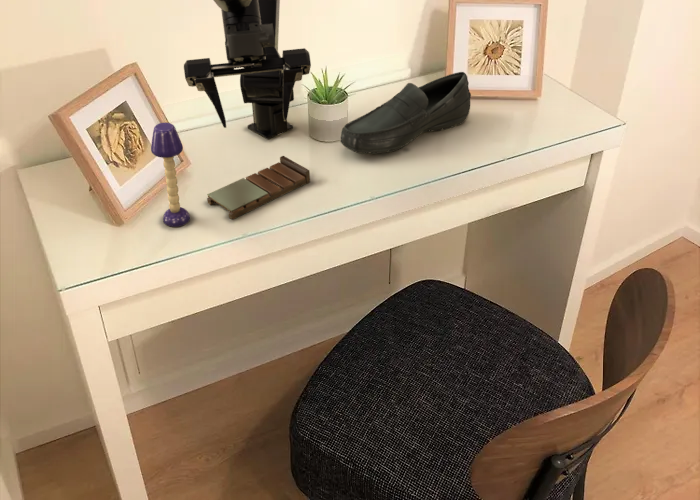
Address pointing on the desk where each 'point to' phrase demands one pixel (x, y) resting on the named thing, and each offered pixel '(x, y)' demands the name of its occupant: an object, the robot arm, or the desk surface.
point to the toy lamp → (170, 170)
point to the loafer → (410, 115)
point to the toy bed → (260, 187)
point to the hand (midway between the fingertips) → (255, 123)
